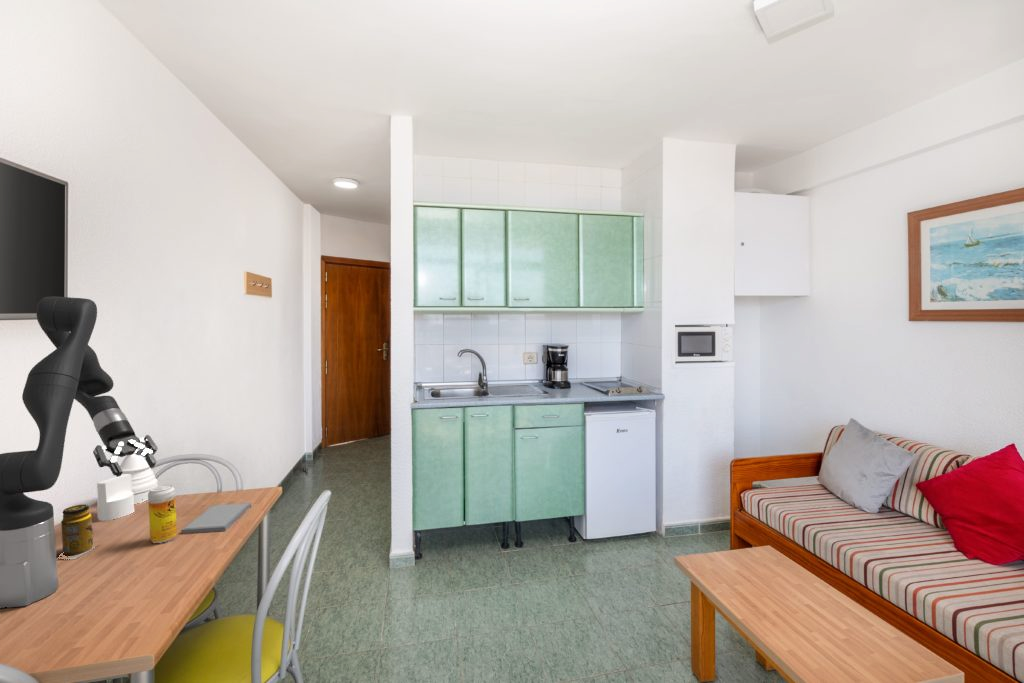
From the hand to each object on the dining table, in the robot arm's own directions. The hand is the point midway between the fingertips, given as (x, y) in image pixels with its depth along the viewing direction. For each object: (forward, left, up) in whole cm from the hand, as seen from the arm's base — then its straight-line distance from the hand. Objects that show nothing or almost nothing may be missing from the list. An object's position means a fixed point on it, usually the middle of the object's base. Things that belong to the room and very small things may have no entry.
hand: (137, 470), depth 136 cm
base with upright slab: (+15, +16, -19) cm, 29 cm away
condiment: (-10, +10, -19) cm, 24 cm away
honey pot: (+29, +19, -19) cm, 40 cm away
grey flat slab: (+6, -19, -19) cm, 27 cm away
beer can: (-6, -10, -19) cm, 22 cm away
